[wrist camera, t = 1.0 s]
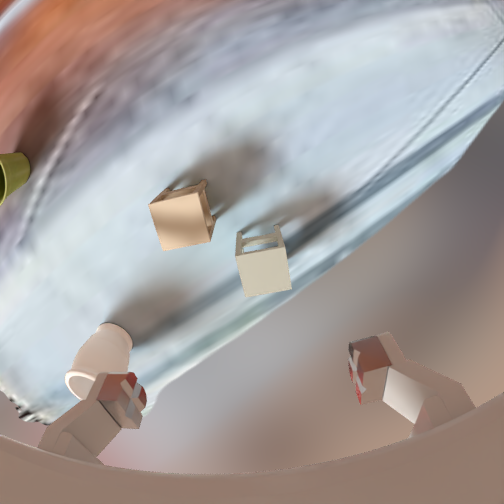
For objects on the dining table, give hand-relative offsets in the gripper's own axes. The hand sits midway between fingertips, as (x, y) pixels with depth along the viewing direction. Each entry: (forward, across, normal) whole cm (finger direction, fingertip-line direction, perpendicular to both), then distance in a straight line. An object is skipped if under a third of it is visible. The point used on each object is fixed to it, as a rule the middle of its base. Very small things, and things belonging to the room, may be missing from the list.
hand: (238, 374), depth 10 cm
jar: (+36, +32, +24) cm, 54 cm away
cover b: (+35, 0, +10) cm, 37 cm away
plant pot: (+34, +38, -14) cm, 54 cm away
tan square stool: (+35, +8, +1) cm, 36 cm away
